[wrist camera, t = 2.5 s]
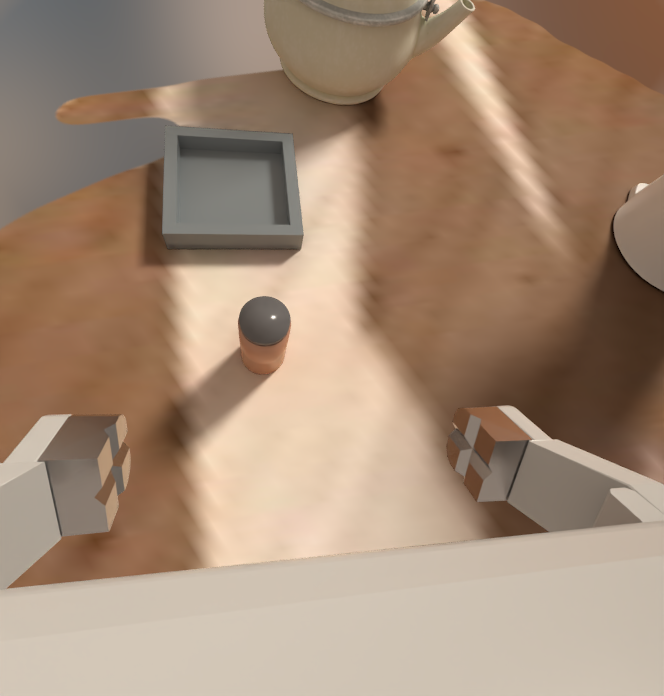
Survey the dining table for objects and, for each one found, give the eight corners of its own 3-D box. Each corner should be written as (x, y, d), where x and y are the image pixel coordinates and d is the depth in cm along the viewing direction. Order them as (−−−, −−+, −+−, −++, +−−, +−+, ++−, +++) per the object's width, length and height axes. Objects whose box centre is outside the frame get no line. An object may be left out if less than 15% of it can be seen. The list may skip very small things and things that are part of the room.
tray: (290, 151, 46) (292, 133, 44) (300, 249, 42) (303, 235, 39) (169, 145, 43) (165, 125, 41) (167, 248, 39) (162, 233, 37)
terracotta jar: (282, 333, 38) (289, 294, 31) (286, 373, 37) (293, 342, 30) (240, 335, 37) (236, 295, 30) (242, 375, 36) (238, 345, 29)
